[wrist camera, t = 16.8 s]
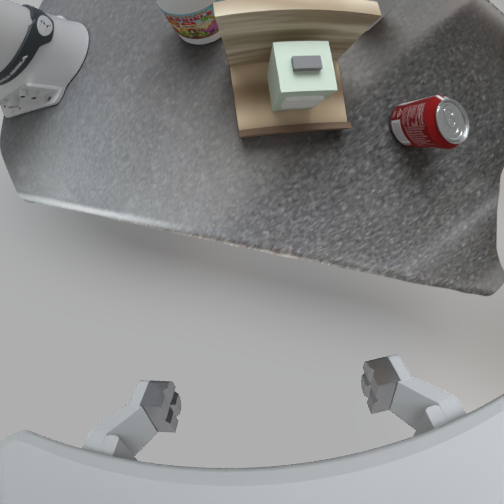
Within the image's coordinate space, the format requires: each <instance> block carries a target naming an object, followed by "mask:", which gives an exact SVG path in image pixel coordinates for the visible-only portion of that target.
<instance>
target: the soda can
mask: <svg viewBox="0 0 504 504" xmlns="http://www.w3.org/2000/svg"><path fill="white" fill-rule="evenodd" d="M390 126H391V130H392V132H393V134H394V136H395V137H396V139H397V140H398V141H399V142H400V143H402V144H403V145H405V146H408V147H426V148H443V149H451V148H454V147H456V146H457V145H458V144H460V143H462V142H464V141H465V140H466V138H467V136H468V133H469V120H468V116H467V114H466V112H465V110H464V108H463V107H462V106H461V105H460V104H459V103H458V102H457V101H455V100H453V99H449V98H448V97H445V96H442V95H437V96H432V97H427V98H423V99H419V100H415V101H411V102H407V103H403V104H400V105H398V106H396V107H395V108H394V110H393V111H392V113H391V117H390Z"/></svg>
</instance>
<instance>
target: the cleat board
mask: <svg viewBox="0 0 504 504" xmlns="http://www.w3.org/2000/svg"><path fill="white" fill-rule="evenodd" d="M213 7H214V14H215V19H216V22H217V25H218V29H219V32H220V35H221V38H222V42H223V45H224V48H225V52H226V55H227V58H228V62H229V65H230V71H231V78H232V85H233V92H234V99H235V106H236V114H237V121H238V128H239V130H238V132H239V137H240V138H241V139H242V138H249V137H257V136H266V135H275V134H286V133H298V132H312V131H330V130H344V129H348V128H351V122H347V117H346V110H345V103H344V96H343V90H342V84H341V78H340V73H339V67H338V62H337V59H338V58H339V57H340V56H341V55H342V54H343V53H344V52H345V51H346V50H347V49H348V48H349V47H350V46H351V45H352V44H353V43H354V42H355V41H356V40H357V39H358V38H359V37H360V36H361V35H362V34H363V33H364V32H365V31H366V30H367V29H368V28H369V27H370V26H371V25H372V24H373V23H374V22H376V21H377V20H378V19H379V18H380V17H381V16H382V15H381V12H380V9H379V6H378V3H377V2H375V1H368V0H226V1H220V2H214V3H213ZM288 41H328V42H329V46H330V51H331V56H332V61H333V66H334V72H335V77H336V83H337V89H338V90H337V91H336V92H334V93H333V94H332V95H330V96H329V97H327V98H326V99H325V100H323V101H322V102H320V103H319V104H318V105H316V106H315V107H314V108H312V109H302V110H288V111H277V112H272V106H271V99H270V92H269V86H268V79H267V73H268V67H269V61H270V55H271V50H272V44H273V42H288Z"/></svg>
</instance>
